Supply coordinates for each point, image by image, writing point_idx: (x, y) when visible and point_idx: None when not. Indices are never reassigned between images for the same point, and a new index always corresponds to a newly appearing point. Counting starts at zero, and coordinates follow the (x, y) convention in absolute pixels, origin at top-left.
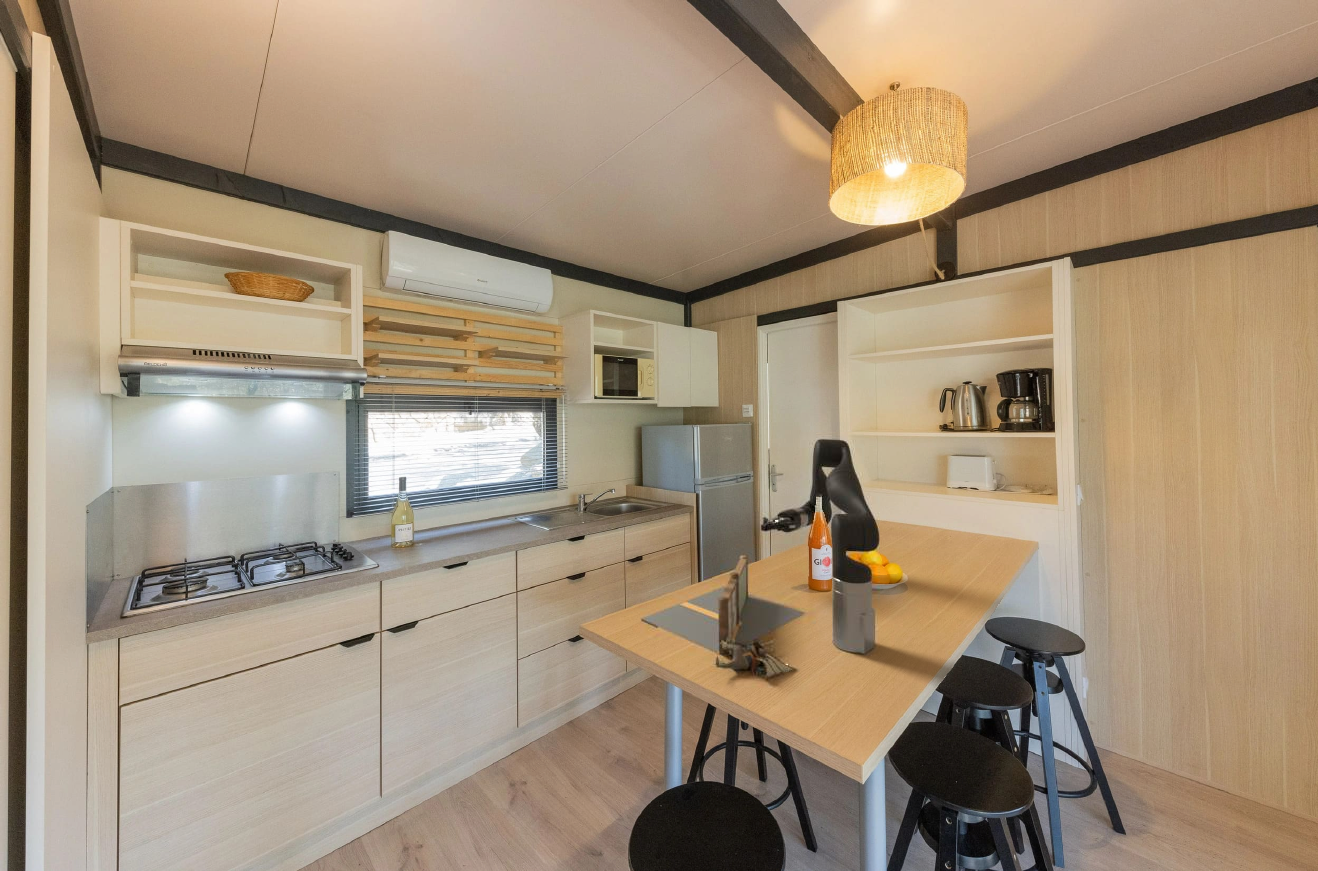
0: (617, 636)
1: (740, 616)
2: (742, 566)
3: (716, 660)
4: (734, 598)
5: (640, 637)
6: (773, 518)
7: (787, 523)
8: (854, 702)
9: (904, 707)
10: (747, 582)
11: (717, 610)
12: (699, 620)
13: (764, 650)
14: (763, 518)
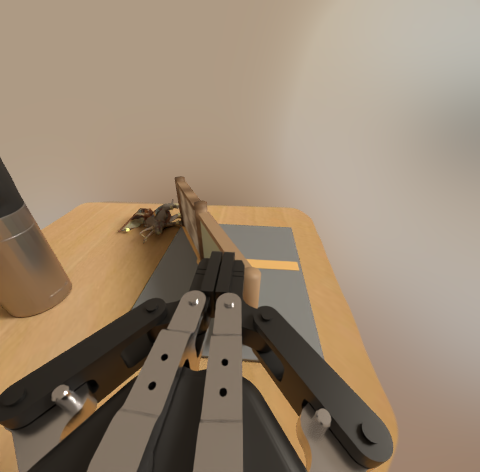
0: (275, 210)
1: None
2: (218, 240)
3: None
4: (192, 217)
5: (261, 215)
6: (231, 378)
7: (83, 342)
8: (73, 227)
9: None
10: None
11: None
12: (243, 248)
13: (144, 214)
14: (341, 383)
